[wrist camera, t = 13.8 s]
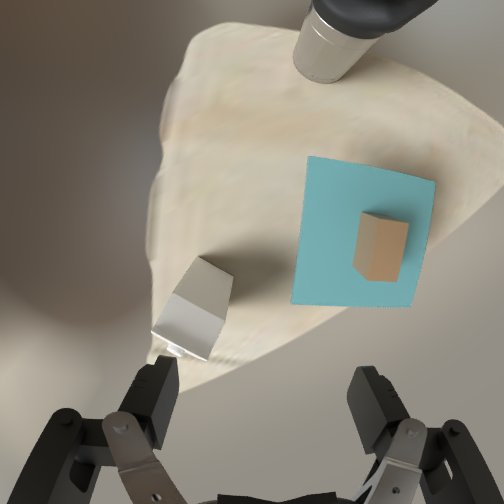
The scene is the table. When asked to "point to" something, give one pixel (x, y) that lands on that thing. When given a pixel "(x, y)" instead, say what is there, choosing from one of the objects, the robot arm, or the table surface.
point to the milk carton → (195, 310)
